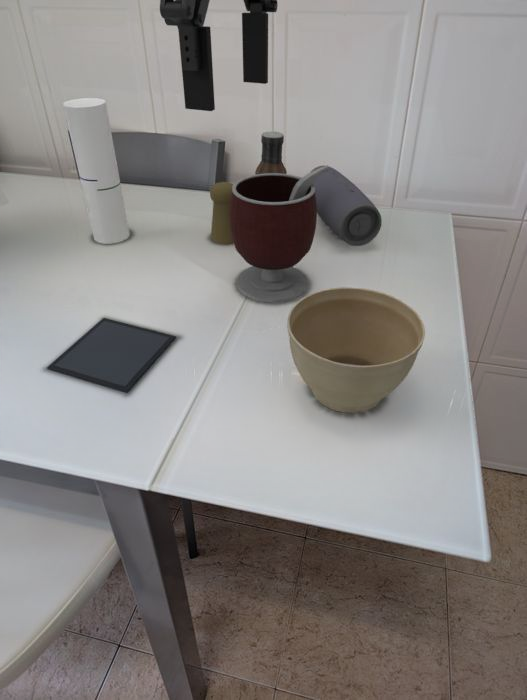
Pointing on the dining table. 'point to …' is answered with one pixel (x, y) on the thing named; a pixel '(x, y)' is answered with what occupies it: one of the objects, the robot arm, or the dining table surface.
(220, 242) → the olive pepper mill
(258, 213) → the mate gourd
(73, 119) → the cylindrical container
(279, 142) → the sauce bottle
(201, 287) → the dining table surface
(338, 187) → the bluetooth speaker
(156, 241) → the dining table surface
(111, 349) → the charcoal mat
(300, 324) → the planter bowl
